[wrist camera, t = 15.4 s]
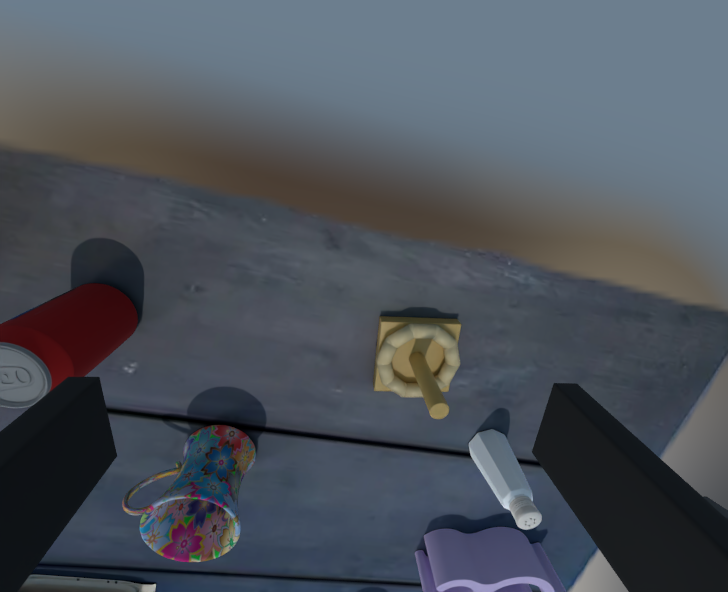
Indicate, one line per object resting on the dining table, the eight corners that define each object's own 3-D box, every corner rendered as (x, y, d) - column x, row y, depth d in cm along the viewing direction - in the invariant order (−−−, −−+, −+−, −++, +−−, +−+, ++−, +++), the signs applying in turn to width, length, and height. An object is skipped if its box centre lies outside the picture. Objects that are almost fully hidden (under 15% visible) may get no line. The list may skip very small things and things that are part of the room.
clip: (405, 570, 55) (415, 624, 49) (434, 515, 51) (449, 566, 45) (513, 583, 59) (536, 634, 53) (548, 533, 55) (577, 582, 49)
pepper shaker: (479, 465, 48) (519, 546, 38) (460, 442, 47) (496, 521, 36) (513, 445, 48) (562, 522, 37) (494, 421, 46) (541, 495, 36)
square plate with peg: (379, 315, 39) (395, 367, 29) (457, 318, 40) (497, 369, 30) (372, 383, 42) (385, 450, 32) (444, 384, 43) (478, 449, 33)
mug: (265, 422, 43) (245, 501, 33) (255, 478, 46) (234, 565, 36) (161, 409, 41) (107, 488, 31) (158, 468, 44) (108, 558, 34)
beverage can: (63, 279, 34) (-67, 336, 23) (135, 280, 35) (42, 334, 24) (80, 340, 37) (-29, 417, 26) (147, 339, 37) (69, 414, 26)
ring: (378, 319, 37) (380, 326, 36) (464, 322, 38) (469, 329, 37) (371, 391, 40) (373, 399, 39) (450, 392, 42) (455, 400, 40)
